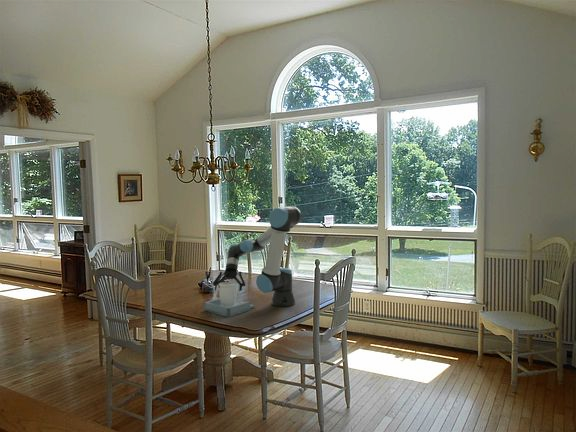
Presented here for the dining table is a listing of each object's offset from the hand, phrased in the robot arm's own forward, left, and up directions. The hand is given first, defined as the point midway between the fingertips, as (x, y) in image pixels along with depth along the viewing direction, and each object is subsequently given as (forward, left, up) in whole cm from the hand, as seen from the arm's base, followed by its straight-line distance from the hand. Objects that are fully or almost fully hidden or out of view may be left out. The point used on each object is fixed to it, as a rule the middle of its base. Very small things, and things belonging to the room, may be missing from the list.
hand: (227, 295), depth 267 cm
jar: (+1, -2, -8) cm, 9 cm away
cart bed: (+1, -3, -10) cm, 10 cm away
